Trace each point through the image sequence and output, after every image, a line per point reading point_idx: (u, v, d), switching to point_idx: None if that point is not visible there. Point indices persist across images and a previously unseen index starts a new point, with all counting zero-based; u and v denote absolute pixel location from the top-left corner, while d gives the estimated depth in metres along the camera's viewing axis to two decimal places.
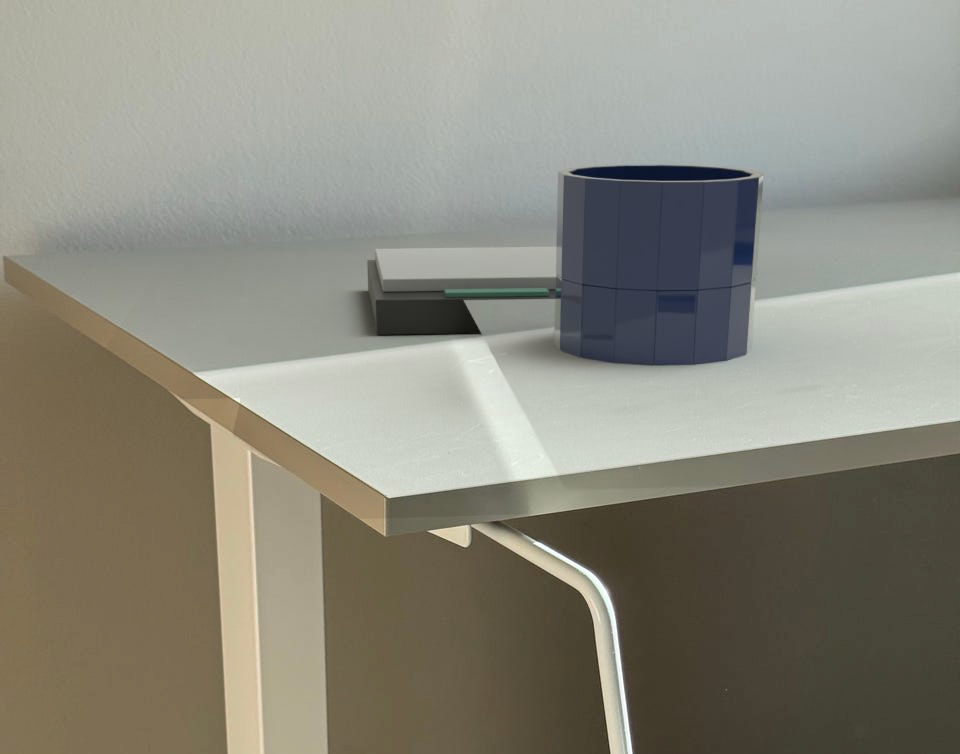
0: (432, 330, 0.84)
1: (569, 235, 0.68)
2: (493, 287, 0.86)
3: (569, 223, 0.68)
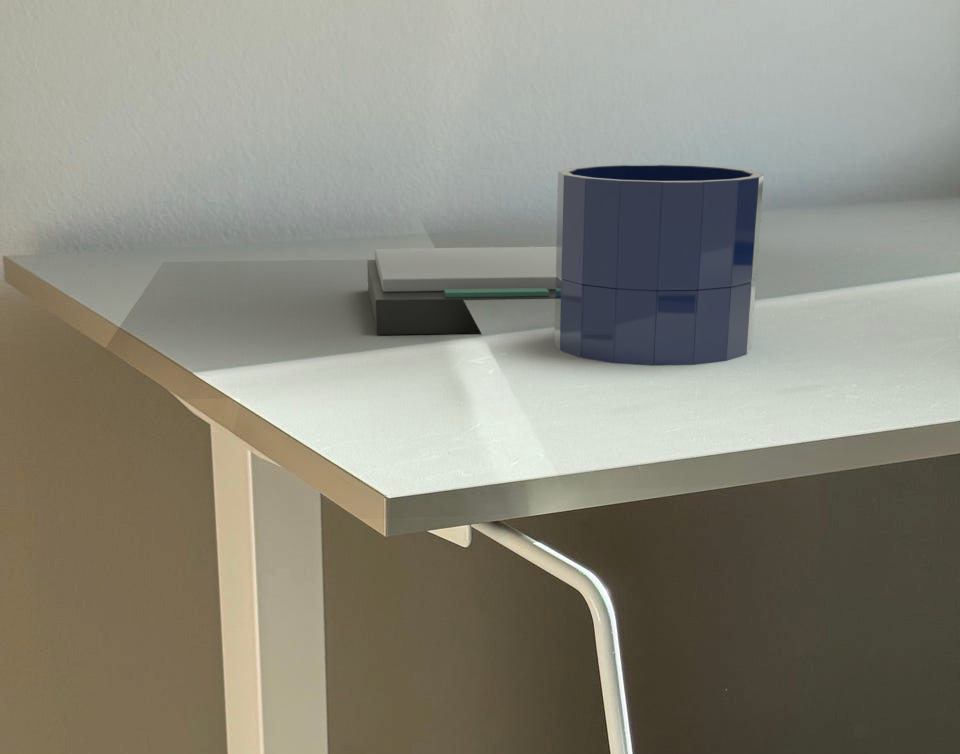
0: (432, 330, 0.84)
1: (569, 235, 0.68)
2: (493, 287, 0.86)
3: (569, 223, 0.68)
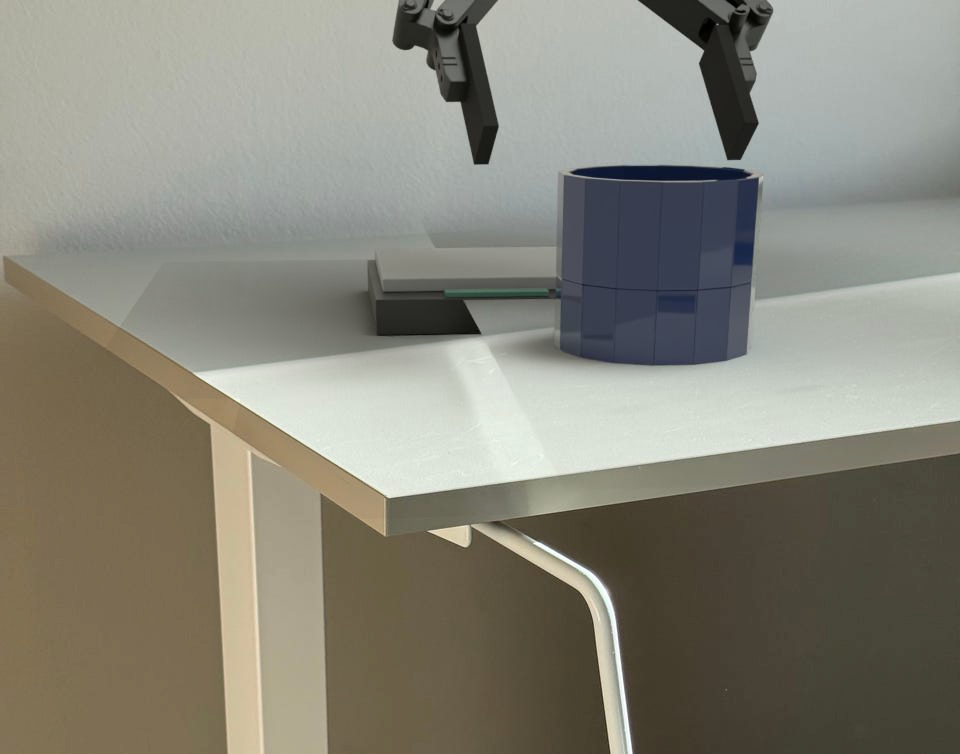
0: (432, 330, 0.84)
1: (569, 235, 0.68)
2: (493, 287, 0.86)
3: (569, 223, 0.68)
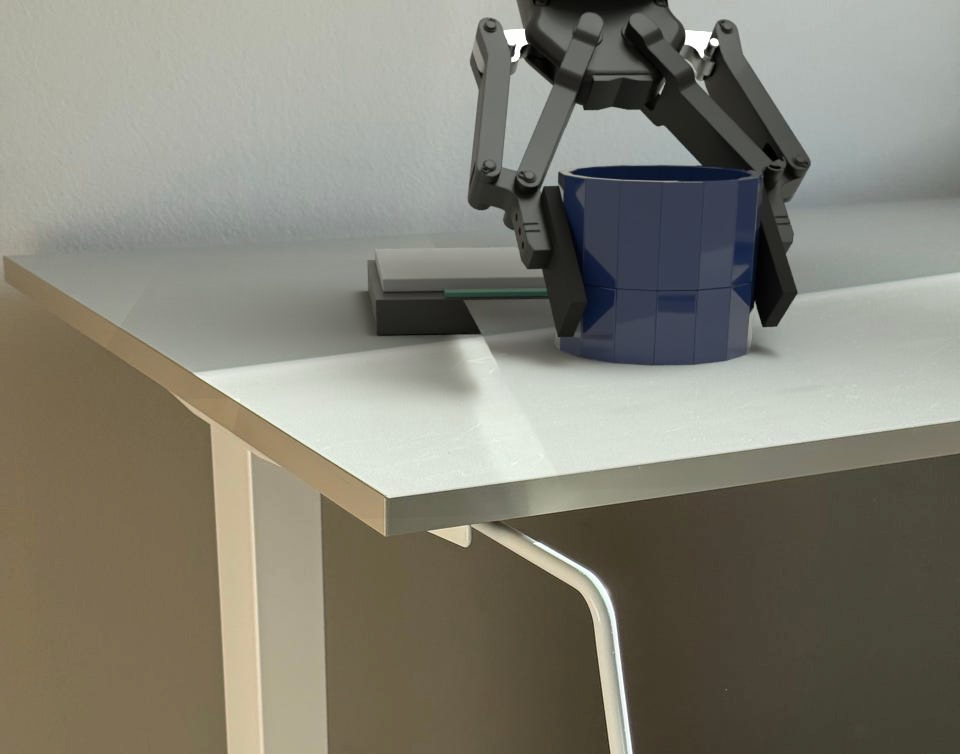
0: (432, 330, 0.84)
1: None
2: (493, 287, 0.86)
3: (569, 223, 0.68)
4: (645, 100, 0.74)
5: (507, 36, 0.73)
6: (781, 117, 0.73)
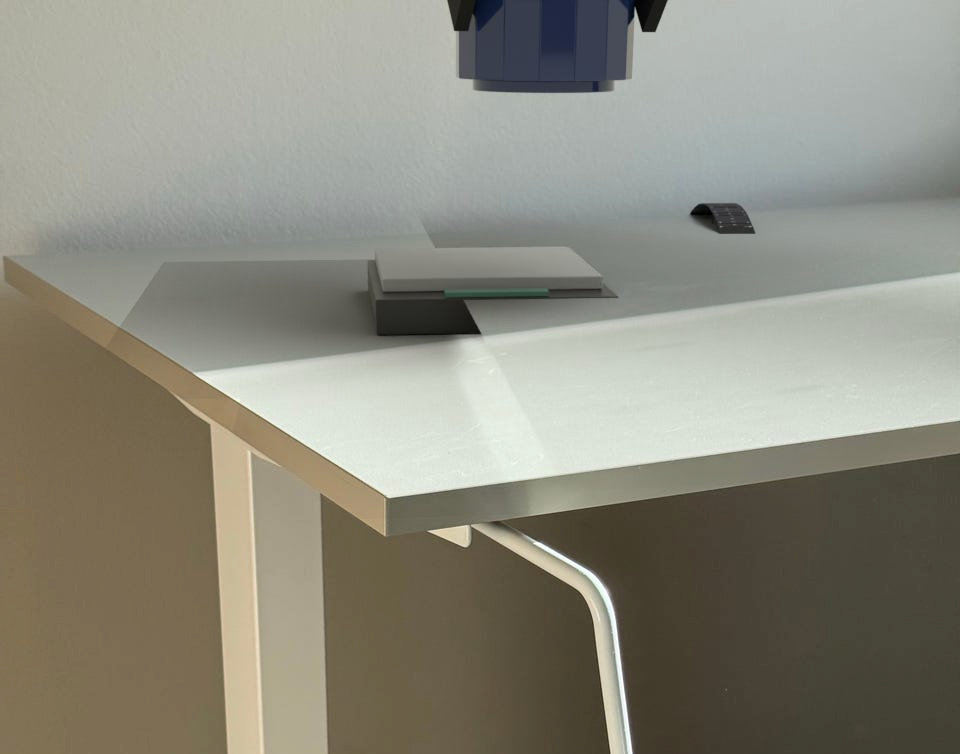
0: (432, 330, 0.84)
1: None
2: (493, 287, 0.86)
3: None
4: None
5: None
6: None
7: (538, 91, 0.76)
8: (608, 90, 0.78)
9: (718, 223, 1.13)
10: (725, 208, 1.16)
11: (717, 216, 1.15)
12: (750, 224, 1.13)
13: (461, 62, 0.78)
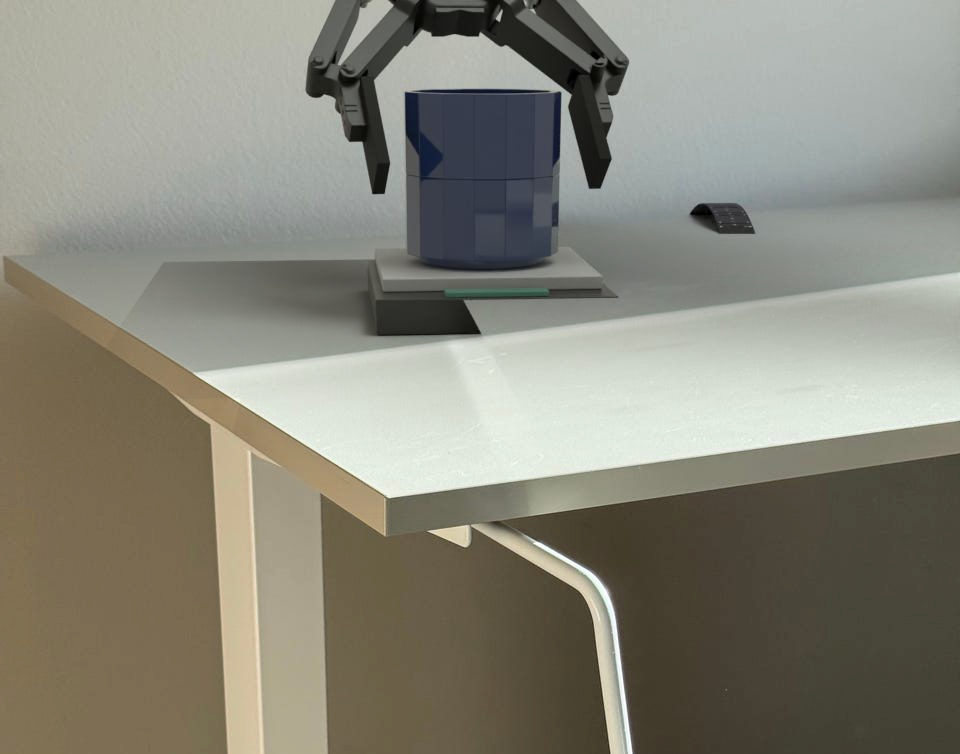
0: (432, 330, 0.84)
1: (409, 139, 0.88)
2: (493, 287, 0.86)
3: (409, 130, 0.87)
4: (480, 28, 0.93)
5: None
6: (600, 28, 0.93)
7: (474, 269, 0.89)
8: (536, 264, 0.90)
9: (718, 223, 1.13)
10: (725, 208, 1.16)
11: (717, 216, 1.15)
12: (750, 224, 1.13)
13: (409, 241, 0.90)
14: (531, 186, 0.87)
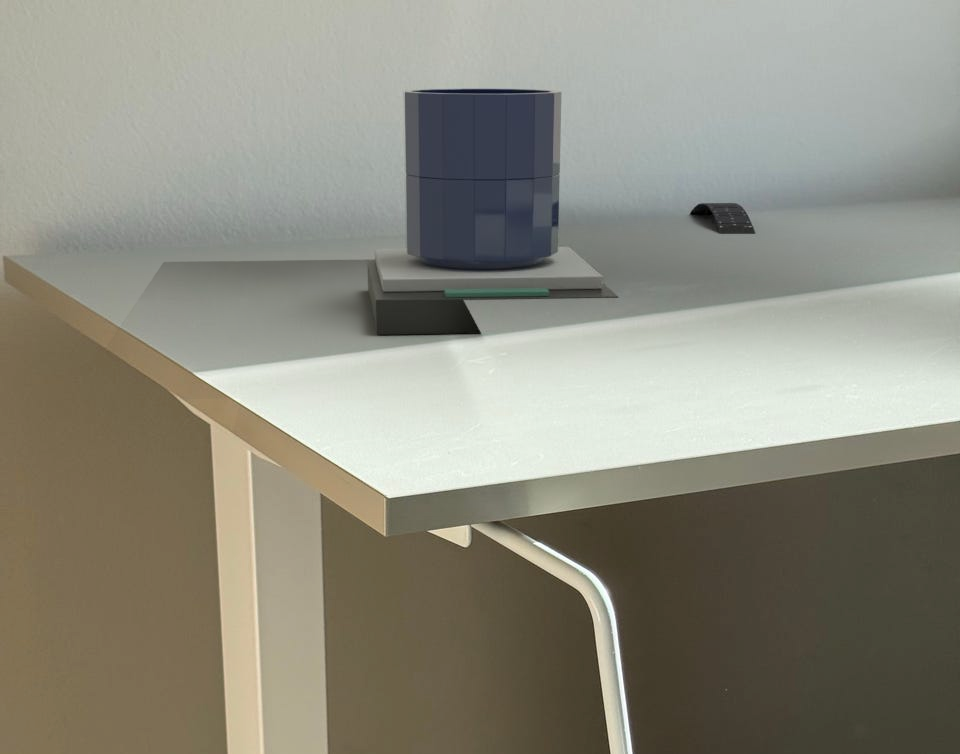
0: (432, 330, 0.84)
1: (409, 139, 0.88)
2: (493, 287, 0.86)
3: (409, 130, 0.87)
4: None
5: None
6: None
7: (474, 269, 0.89)
8: (536, 264, 0.90)
9: (718, 223, 1.13)
10: (725, 208, 1.16)
11: (717, 216, 1.15)
12: (750, 224, 1.13)
13: (409, 241, 0.90)
14: (531, 186, 0.87)
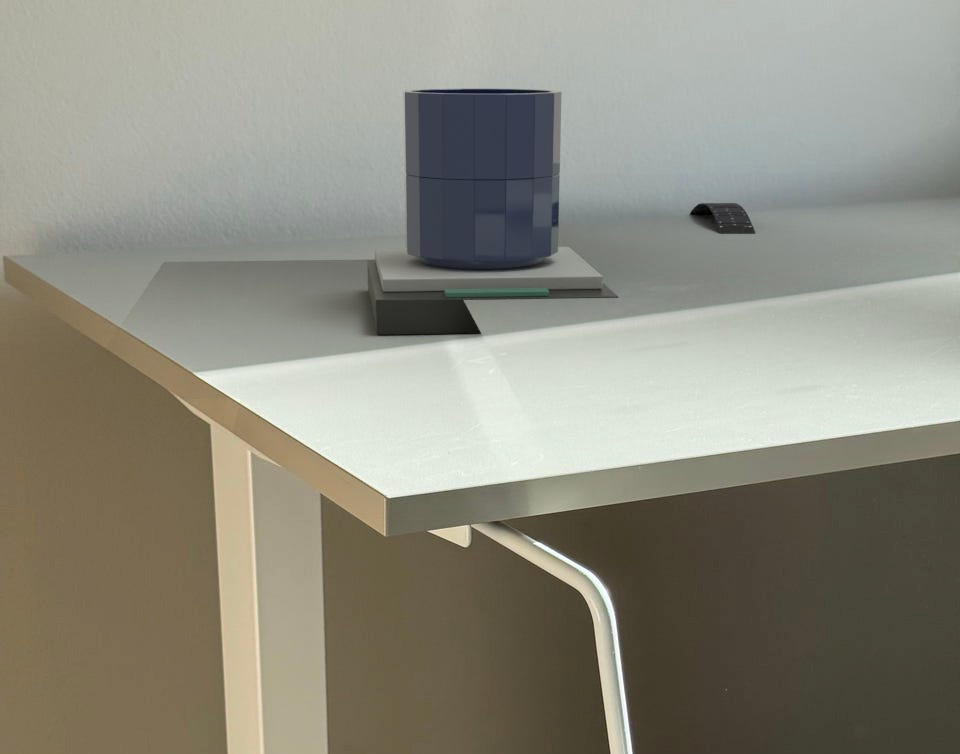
0: (432, 330, 0.84)
1: (409, 139, 0.88)
2: (493, 287, 0.86)
3: (409, 130, 0.87)
4: None
5: None
6: None
7: (474, 269, 0.89)
8: (536, 264, 0.90)
9: (718, 223, 1.13)
10: (725, 208, 1.16)
11: (717, 216, 1.15)
12: (750, 224, 1.13)
13: (409, 241, 0.90)
14: (531, 186, 0.87)
